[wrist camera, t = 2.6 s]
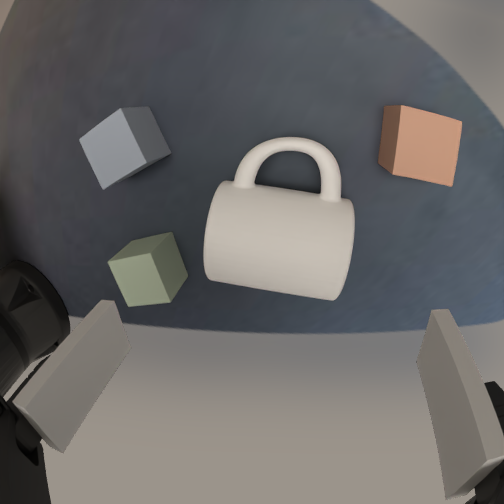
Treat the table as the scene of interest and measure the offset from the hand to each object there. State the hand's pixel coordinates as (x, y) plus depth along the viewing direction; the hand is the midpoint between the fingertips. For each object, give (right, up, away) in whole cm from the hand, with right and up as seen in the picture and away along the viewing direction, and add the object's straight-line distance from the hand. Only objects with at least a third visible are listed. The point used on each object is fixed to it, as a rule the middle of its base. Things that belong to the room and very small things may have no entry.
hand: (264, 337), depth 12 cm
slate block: (-11, +14, +15) cm, 23 cm away
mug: (+3, +8, +15) cm, 17 cm away
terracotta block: (+13, +13, +11) cm, 21 cm away
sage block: (-10, +3, +20) cm, 22 cm away
